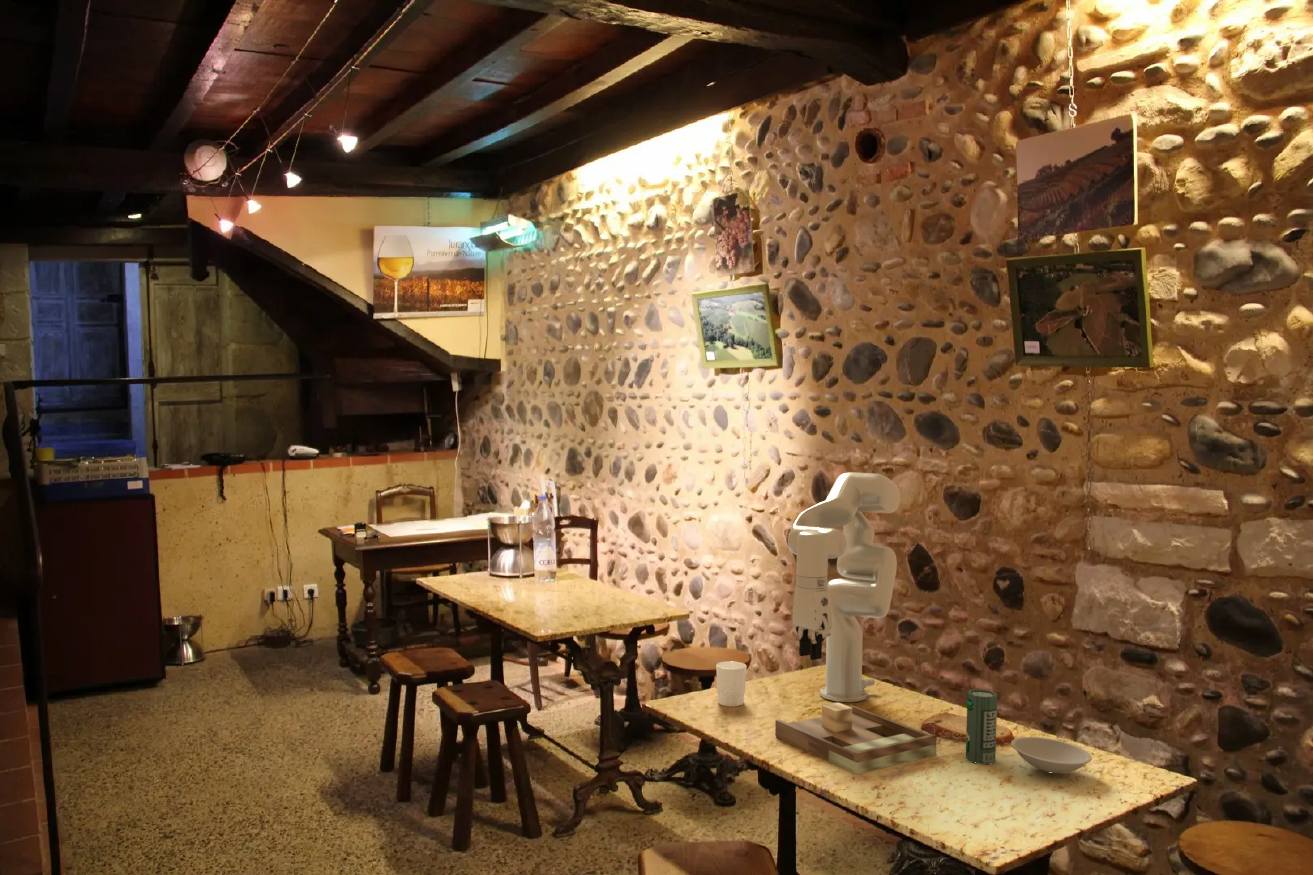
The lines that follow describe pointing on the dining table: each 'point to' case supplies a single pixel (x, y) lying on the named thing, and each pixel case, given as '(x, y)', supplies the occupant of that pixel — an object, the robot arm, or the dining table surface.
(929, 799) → the dining table surface
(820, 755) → the box
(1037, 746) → the dish
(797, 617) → the robot arm
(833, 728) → the maple block
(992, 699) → the can
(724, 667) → the white cup
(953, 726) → the bread slice
